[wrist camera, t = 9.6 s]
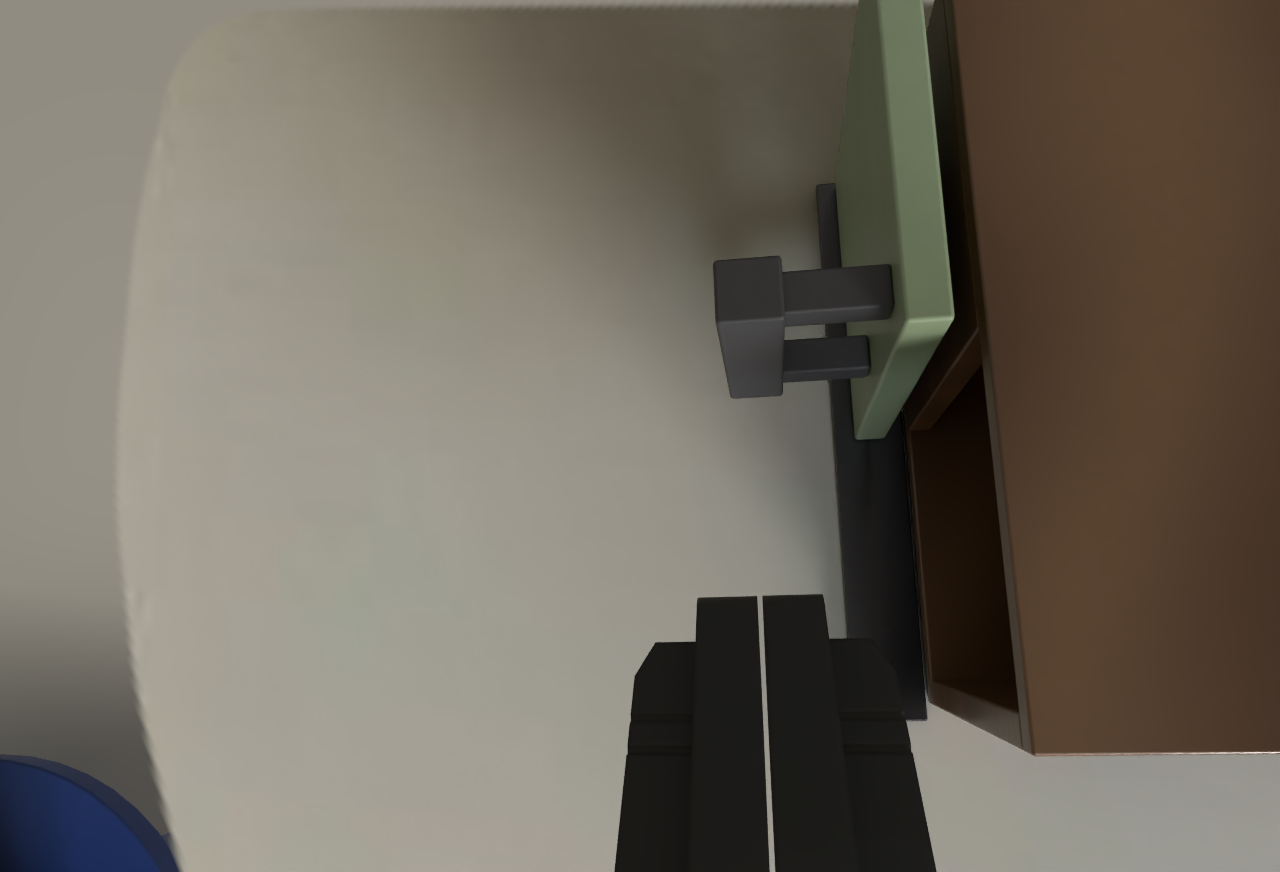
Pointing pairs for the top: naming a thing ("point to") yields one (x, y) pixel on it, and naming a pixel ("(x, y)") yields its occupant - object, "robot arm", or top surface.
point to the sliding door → (858, 245)
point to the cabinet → (1088, 387)
